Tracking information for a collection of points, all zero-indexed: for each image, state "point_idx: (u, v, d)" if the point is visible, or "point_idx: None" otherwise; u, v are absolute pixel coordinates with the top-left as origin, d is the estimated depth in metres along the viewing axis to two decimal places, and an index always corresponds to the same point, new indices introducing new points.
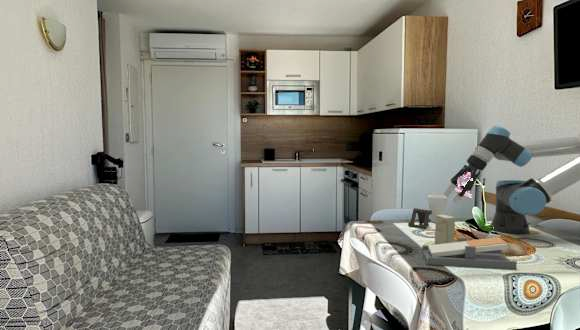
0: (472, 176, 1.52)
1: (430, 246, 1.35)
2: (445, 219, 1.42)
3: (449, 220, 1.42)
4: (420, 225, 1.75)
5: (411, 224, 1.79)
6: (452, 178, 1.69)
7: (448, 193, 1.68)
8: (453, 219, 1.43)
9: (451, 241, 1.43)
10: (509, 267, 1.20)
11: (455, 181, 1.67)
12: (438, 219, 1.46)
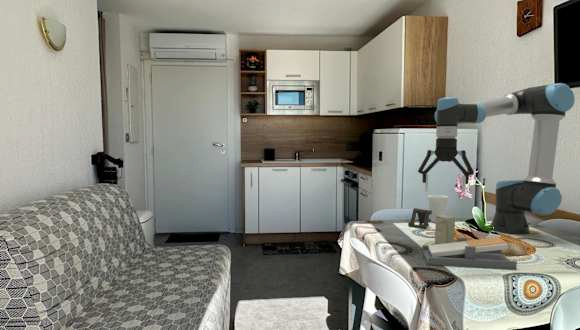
0: None
1: (430, 246, 1.35)
2: (445, 219, 1.42)
3: (449, 220, 1.42)
4: (420, 225, 1.75)
5: (411, 224, 1.79)
6: (420, 170, 1.46)
7: None
8: (453, 219, 1.43)
9: (451, 241, 1.43)
10: (509, 267, 1.20)
11: None
12: (438, 219, 1.46)
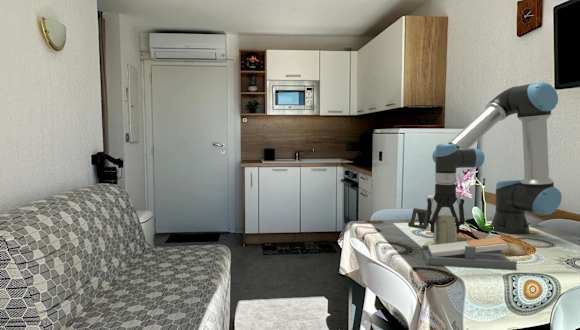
0: (463, 209, 1.43)
1: (430, 246, 1.35)
2: (445, 219, 1.42)
3: (449, 220, 1.42)
4: (420, 225, 1.75)
5: (411, 224, 1.79)
6: (428, 220, 1.46)
7: None
8: (453, 219, 1.43)
9: (451, 241, 1.43)
10: (509, 267, 1.20)
11: None
12: (438, 219, 1.46)
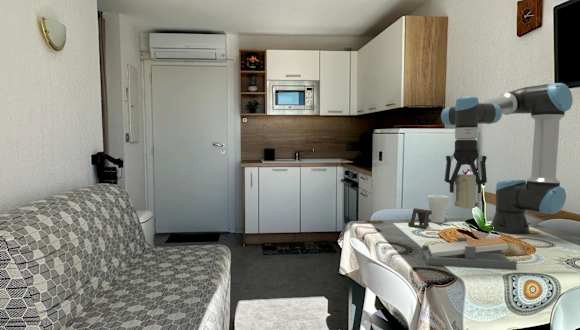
0: None
1: (430, 246, 1.35)
2: (465, 177, 1.34)
3: (469, 178, 1.33)
4: (420, 225, 1.75)
5: (411, 224, 1.79)
6: (447, 178, 1.37)
7: None
8: (474, 177, 1.34)
9: (472, 201, 1.34)
10: (509, 267, 1.20)
11: (454, 179, 1.37)
12: (457, 178, 1.37)
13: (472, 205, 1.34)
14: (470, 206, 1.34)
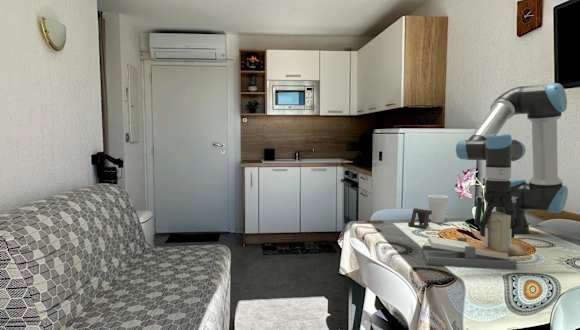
0: None
1: (431, 237, 1.35)
2: (499, 218, 1.23)
3: (504, 219, 1.23)
4: (420, 225, 1.75)
5: (411, 224, 1.79)
6: (478, 222, 1.27)
7: None
8: (509, 218, 1.23)
9: (506, 243, 1.24)
10: (509, 267, 1.20)
11: None
12: (490, 217, 1.26)
13: (505, 247, 1.24)
14: (503, 248, 1.24)
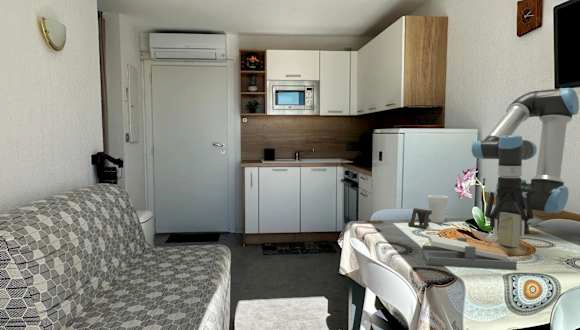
0: None
1: (431, 236, 1.34)
2: (511, 215, 1.37)
3: (515, 217, 1.37)
4: (420, 225, 1.75)
5: (411, 224, 1.79)
6: (488, 214, 1.39)
7: None
8: (519, 216, 1.37)
9: (516, 240, 1.37)
10: (509, 267, 1.20)
11: None
12: (502, 216, 1.41)
13: (515, 244, 1.37)
14: (514, 245, 1.37)
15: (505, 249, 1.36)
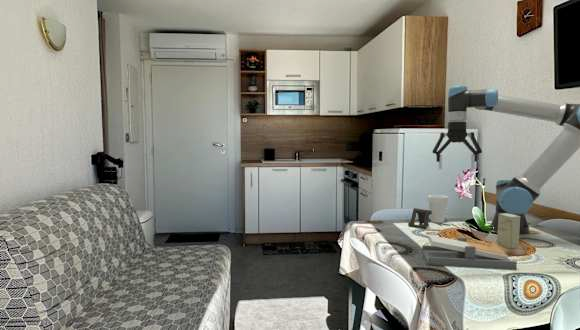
0: (475, 140, 1.63)
1: (431, 236, 1.34)
2: (509, 218, 1.36)
3: (514, 219, 1.36)
4: (420, 225, 1.75)
5: (411, 224, 1.79)
6: (435, 150, 1.66)
7: None
8: (518, 218, 1.36)
9: (516, 241, 1.37)
10: (509, 267, 1.20)
11: (441, 151, 1.66)
12: (501, 218, 1.40)
13: (515, 245, 1.37)
14: (514, 246, 1.37)
15: (505, 249, 1.36)
